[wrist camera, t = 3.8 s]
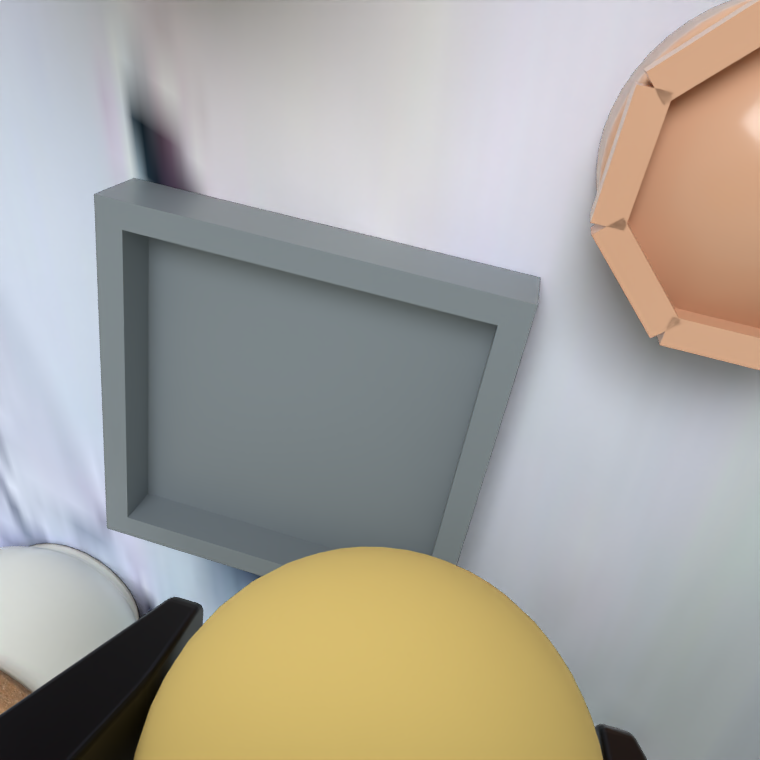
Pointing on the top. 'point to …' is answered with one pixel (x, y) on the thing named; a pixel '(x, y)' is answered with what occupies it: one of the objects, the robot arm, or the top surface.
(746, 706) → the top surface
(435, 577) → the ball
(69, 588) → the lidded jar
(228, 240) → the tray
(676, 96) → the bowl
